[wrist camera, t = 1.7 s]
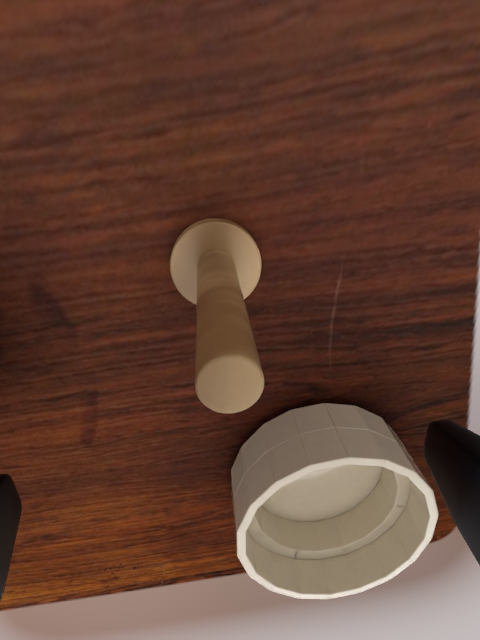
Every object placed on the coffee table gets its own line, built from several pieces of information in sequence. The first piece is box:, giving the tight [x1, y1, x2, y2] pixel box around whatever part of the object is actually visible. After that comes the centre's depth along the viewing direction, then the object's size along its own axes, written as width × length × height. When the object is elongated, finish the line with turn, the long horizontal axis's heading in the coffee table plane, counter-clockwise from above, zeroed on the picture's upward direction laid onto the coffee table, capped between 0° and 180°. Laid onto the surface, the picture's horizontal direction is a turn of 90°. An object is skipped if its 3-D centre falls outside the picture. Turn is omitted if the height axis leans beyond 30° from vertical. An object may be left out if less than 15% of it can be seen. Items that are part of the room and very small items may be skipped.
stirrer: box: [170, 218, 264, 413], centre depth 15 cm, size 4×4×11 cm
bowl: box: [231, 403, 438, 599], centre depth 24 cm, size 11×11×5 cm
